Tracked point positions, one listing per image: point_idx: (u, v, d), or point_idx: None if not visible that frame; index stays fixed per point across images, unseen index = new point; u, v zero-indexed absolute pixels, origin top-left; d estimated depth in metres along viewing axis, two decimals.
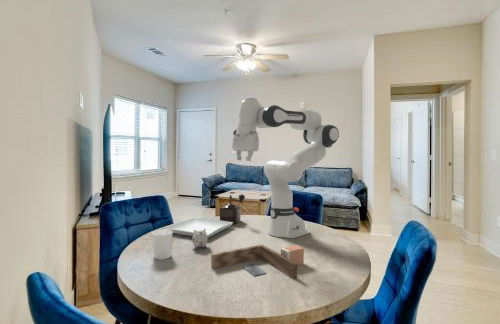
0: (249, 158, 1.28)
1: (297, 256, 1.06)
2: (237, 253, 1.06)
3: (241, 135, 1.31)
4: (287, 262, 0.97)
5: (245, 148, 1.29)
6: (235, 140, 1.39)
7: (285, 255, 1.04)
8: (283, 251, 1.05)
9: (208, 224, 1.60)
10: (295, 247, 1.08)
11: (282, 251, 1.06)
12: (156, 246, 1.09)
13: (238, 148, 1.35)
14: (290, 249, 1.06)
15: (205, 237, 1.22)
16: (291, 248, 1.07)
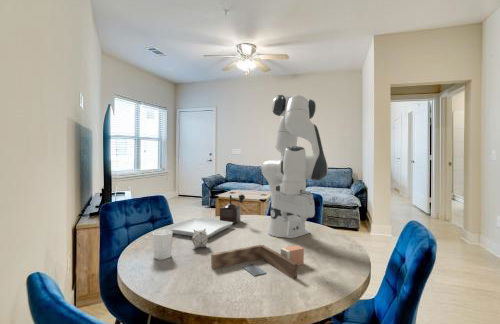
0: (302, 224, 1.01)
1: (297, 256, 1.06)
2: (237, 253, 1.06)
3: (289, 195, 1.04)
4: (287, 262, 0.97)
5: (296, 212, 1.02)
6: (278, 197, 1.11)
7: (285, 255, 1.04)
8: (283, 251, 1.05)
9: (208, 224, 1.60)
10: (295, 247, 1.08)
11: (282, 251, 1.06)
12: (156, 246, 1.09)
13: (284, 209, 1.08)
14: (290, 249, 1.06)
15: (205, 237, 1.22)
16: (291, 248, 1.07)
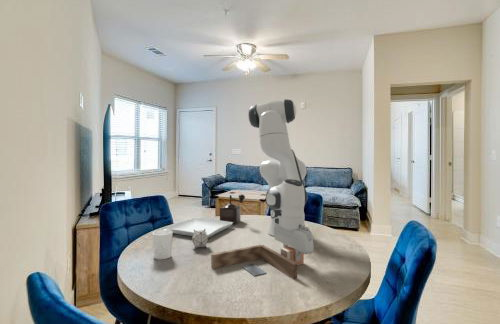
0: (298, 257, 1.04)
1: None
2: (237, 253, 1.06)
3: (287, 229, 1.04)
4: (287, 262, 0.97)
5: (295, 247, 1.02)
6: (277, 229, 1.12)
7: (285, 255, 1.04)
8: (283, 251, 1.05)
9: (208, 224, 1.60)
10: None
11: (282, 251, 1.06)
12: (156, 246, 1.09)
13: (283, 241, 1.08)
14: (290, 249, 1.06)
15: (205, 237, 1.22)
16: (291, 248, 1.07)
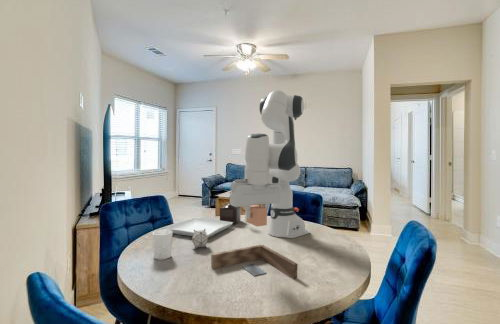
0: (247, 214, 0.98)
1: (252, 215, 0.98)
2: (237, 253, 1.06)
3: None
4: (287, 262, 0.97)
5: None
6: None
7: None
8: None
9: (208, 224, 1.60)
10: (259, 207, 0.98)
11: None
12: (156, 246, 1.09)
13: None
14: (253, 206, 1.01)
15: (205, 237, 1.22)
16: (255, 206, 1.00)
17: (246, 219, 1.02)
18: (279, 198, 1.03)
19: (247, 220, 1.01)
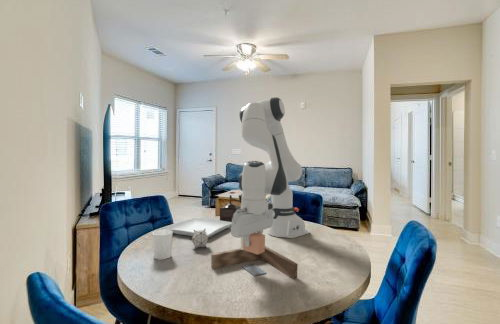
0: (246, 243, 0.98)
1: (251, 243, 0.98)
2: (237, 253, 1.06)
3: None
4: (287, 262, 0.97)
5: None
6: None
7: None
8: None
9: (208, 224, 1.60)
10: (256, 234, 0.99)
11: None
12: (156, 246, 1.09)
13: None
14: None
15: (205, 237, 1.22)
16: (252, 233, 1.01)
17: (242, 247, 1.01)
18: (272, 223, 1.06)
19: (244, 248, 1.00)
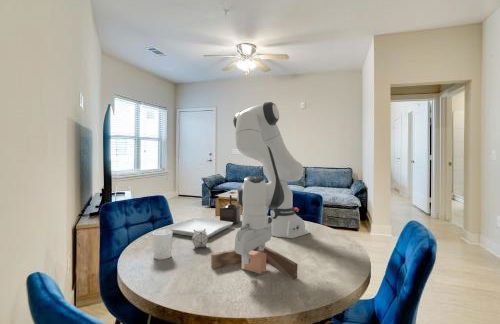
0: (246, 260, 0.96)
1: (253, 262, 0.98)
2: None
3: None
4: (287, 262, 0.97)
5: None
6: None
7: None
8: None
9: (208, 224, 1.60)
10: (258, 253, 1.00)
11: None
12: (156, 246, 1.09)
13: None
14: (250, 252, 1.01)
15: (205, 237, 1.22)
16: (253, 252, 1.01)
17: (243, 267, 1.01)
18: (270, 236, 1.07)
19: (245, 267, 1.00)
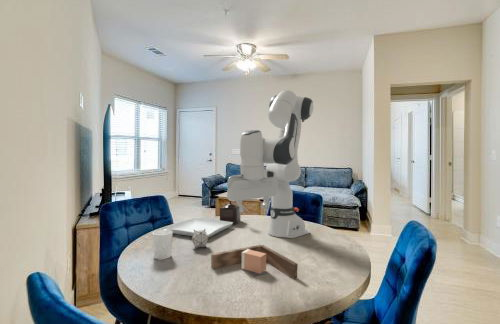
0: (240, 209, 1.02)
1: (253, 262, 0.98)
2: (237, 253, 1.06)
3: None
4: (287, 262, 0.97)
5: None
6: None
7: None
8: None
9: (208, 224, 1.60)
10: (258, 253, 1.00)
11: None
12: (156, 246, 1.09)
13: None
14: (250, 252, 1.01)
15: (205, 237, 1.22)
16: (253, 252, 1.01)
17: (243, 267, 1.01)
18: (275, 191, 1.07)
19: (245, 267, 1.00)
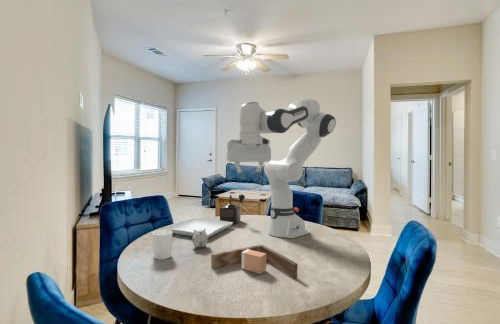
0: (238, 170, 1.16)
1: (253, 262, 0.98)
2: (237, 253, 1.06)
3: None
4: (287, 262, 0.97)
5: None
6: None
7: None
8: None
9: (208, 224, 1.60)
10: (258, 253, 1.00)
11: None
12: (156, 246, 1.09)
13: None
14: (250, 252, 1.01)
15: (205, 237, 1.22)
16: (253, 252, 1.01)
17: (243, 267, 1.01)
18: (269, 157, 1.22)
19: (245, 267, 1.00)
